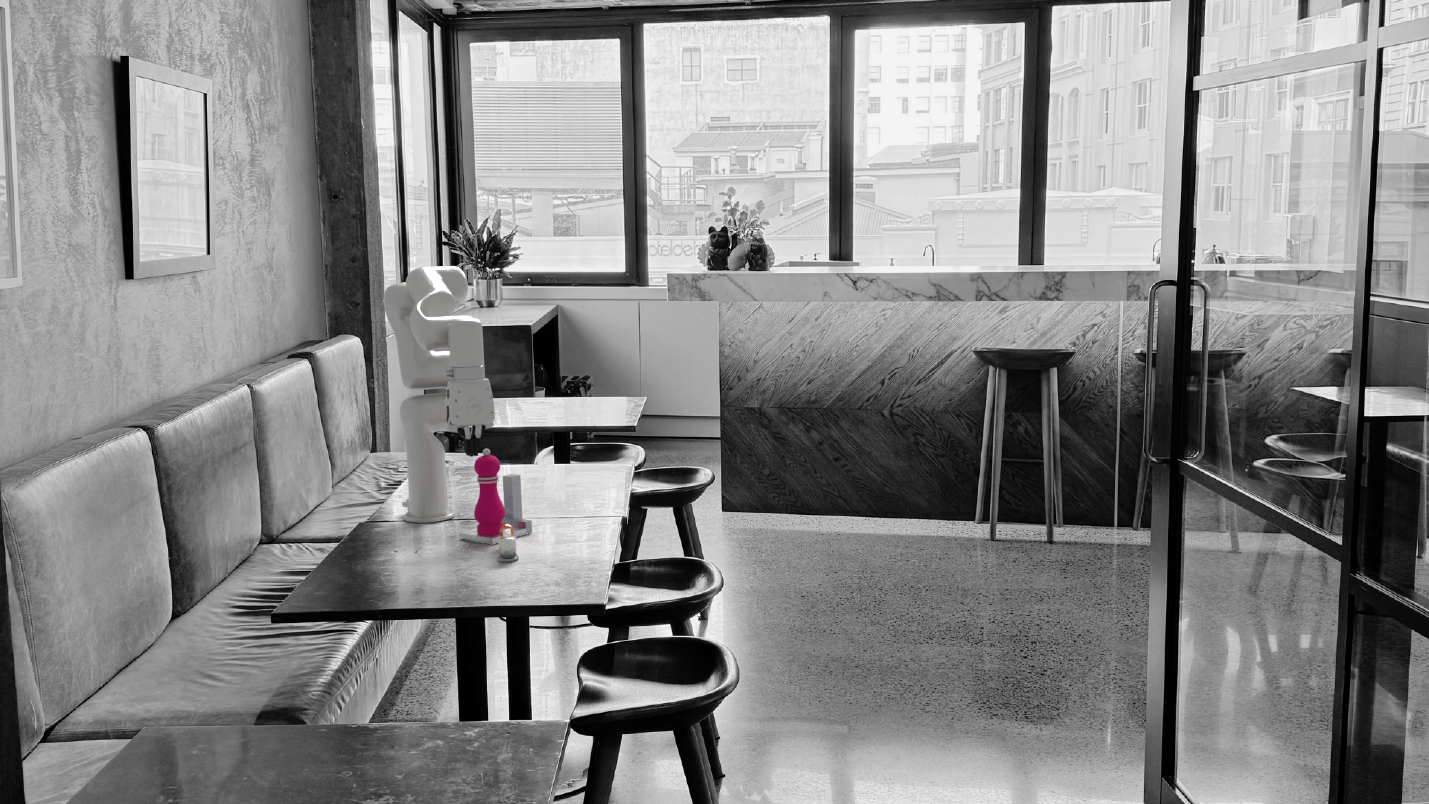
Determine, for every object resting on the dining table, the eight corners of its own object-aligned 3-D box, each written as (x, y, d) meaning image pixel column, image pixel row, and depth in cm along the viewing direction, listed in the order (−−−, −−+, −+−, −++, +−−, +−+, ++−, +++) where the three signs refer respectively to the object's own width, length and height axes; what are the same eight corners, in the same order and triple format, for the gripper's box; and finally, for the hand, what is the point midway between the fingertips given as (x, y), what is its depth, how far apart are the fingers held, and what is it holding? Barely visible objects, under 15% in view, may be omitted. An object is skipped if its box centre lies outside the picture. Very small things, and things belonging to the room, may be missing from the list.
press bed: (428, 548, 269) (424, 492, 267) (508, 524, 290) (505, 473, 288) (508, 563, 254) (505, 504, 253) (586, 537, 275) (584, 483, 273)
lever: (516, 557, 256) (515, 538, 255) (500, 558, 255) (499, 539, 255) (515, 540, 271) (514, 521, 270) (499, 541, 270) (498, 522, 270)
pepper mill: (499, 536, 272) (495, 451, 270) (470, 535, 274) (465, 451, 271) (510, 528, 279) (506, 446, 277) (481, 528, 281) (477, 445, 278)
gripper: (442, 378, 252) (446, 462, 255) (505, 372, 261) (509, 453, 263) (428, 375, 259) (433, 457, 261) (491, 370, 267) (495, 449, 270)
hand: (472, 455), depth 262 cm, fingers closed
